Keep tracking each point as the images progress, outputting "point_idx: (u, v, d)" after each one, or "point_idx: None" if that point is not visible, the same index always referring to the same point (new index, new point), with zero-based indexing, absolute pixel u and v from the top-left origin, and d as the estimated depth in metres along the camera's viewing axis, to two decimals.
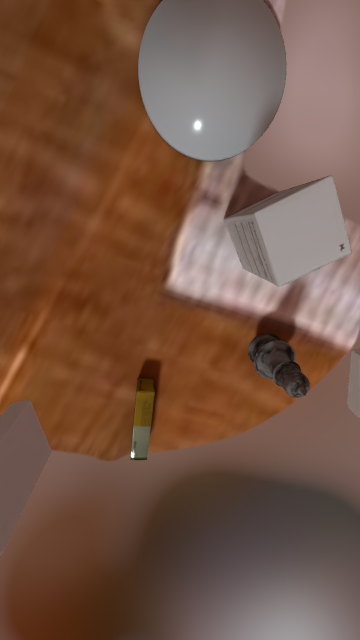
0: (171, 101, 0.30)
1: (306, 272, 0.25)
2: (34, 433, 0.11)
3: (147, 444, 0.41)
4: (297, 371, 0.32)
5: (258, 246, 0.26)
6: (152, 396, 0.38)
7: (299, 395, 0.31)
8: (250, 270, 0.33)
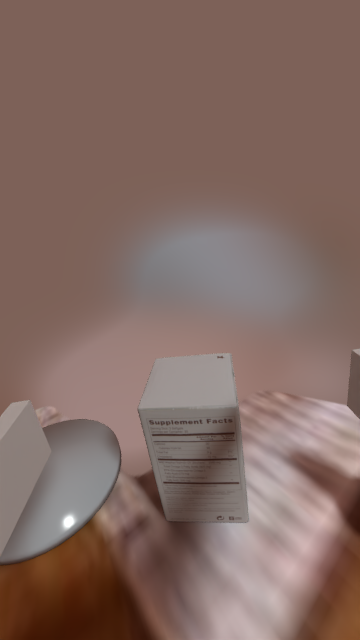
0: (17, 521, 0.25)
1: (232, 381, 0.21)
2: (34, 433, 0.11)
3: None
4: None
5: (183, 426, 0.20)
6: None
7: None
8: (239, 490, 0.22)
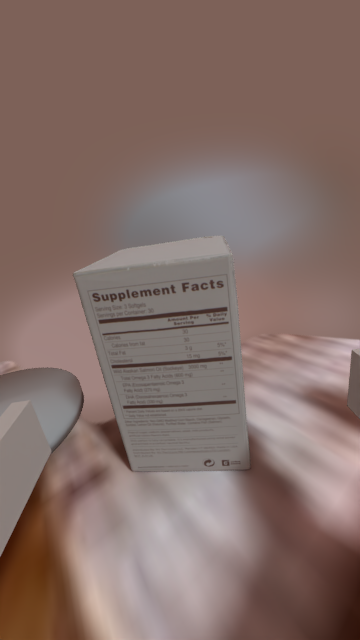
0: None
1: (224, 244, 0.14)
2: (34, 433, 0.11)
3: None
4: None
5: (145, 301, 0.12)
6: None
7: None
8: (236, 414, 0.14)
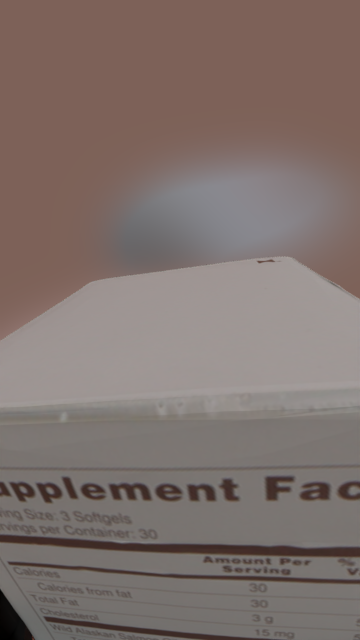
0: None
1: (349, 296, 0.05)
2: None
3: None
4: None
5: (129, 511, 0.04)
6: None
7: None
8: None
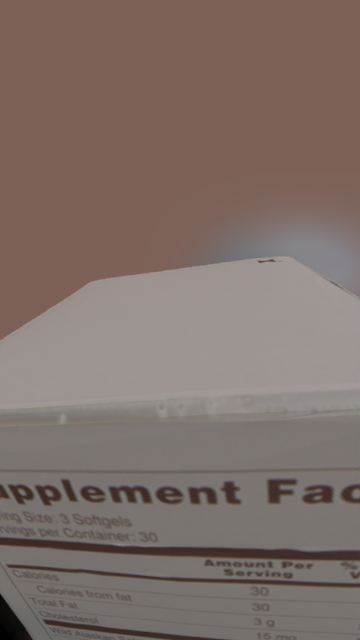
0: None
1: (351, 296, 0.05)
2: None
3: None
4: None
5: (129, 514, 0.04)
6: None
7: None
8: None
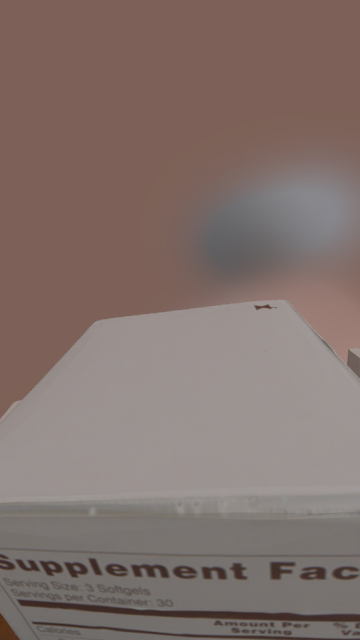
0: None
1: (340, 366, 0.06)
2: None
3: None
4: None
5: (148, 585, 0.04)
6: None
7: None
8: None
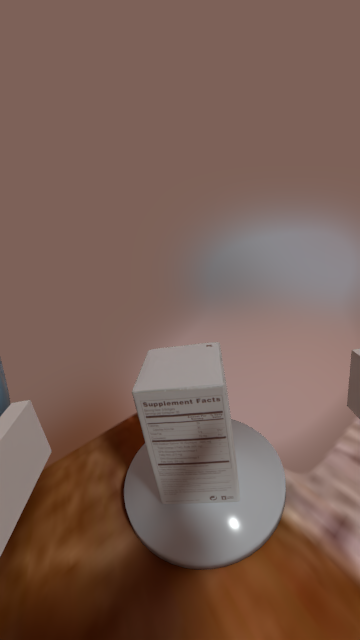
0: (202, 522, 0.23)
1: (219, 365, 0.23)
2: (34, 433, 0.11)
3: None
4: None
5: (174, 407, 0.21)
6: None
7: None
8: (230, 468, 0.23)
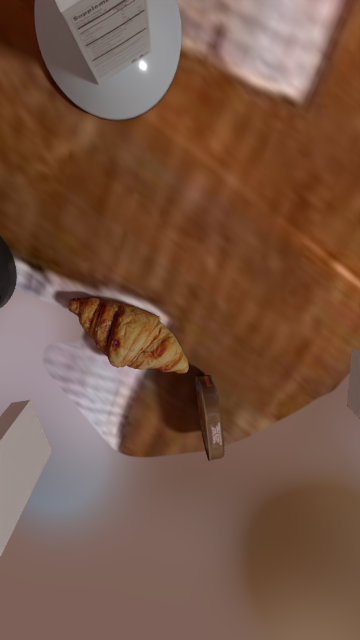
0: (133, 83, 0.32)
1: None
2: (34, 433, 0.11)
3: None
4: None
5: (101, 7, 0.22)
6: None
7: None
8: (146, 33, 0.27)
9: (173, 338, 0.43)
